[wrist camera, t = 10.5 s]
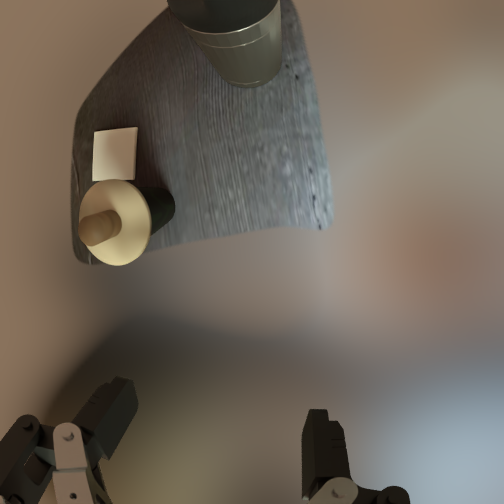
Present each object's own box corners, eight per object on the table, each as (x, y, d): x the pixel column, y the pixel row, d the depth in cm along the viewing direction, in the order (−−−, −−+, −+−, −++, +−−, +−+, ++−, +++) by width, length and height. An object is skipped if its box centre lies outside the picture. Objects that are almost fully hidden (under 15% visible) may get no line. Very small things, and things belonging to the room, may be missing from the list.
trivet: (96, 132, 38) (94, 132, 37) (137, 127, 37) (135, 127, 36) (94, 180, 40) (92, 180, 39) (135, 179, 39) (133, 179, 39)
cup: (157, 242, 42) (116, 267, 30) (127, 204, 40) (79, 218, 29) (192, 209, 40) (157, 225, 28) (160, 169, 38) (115, 172, 27)
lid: (82, 179, 28) (55, 183, 23) (152, 178, 27) (128, 181, 22) (86, 258, 30) (62, 271, 26) (152, 267, 30) (132, 284, 25)
